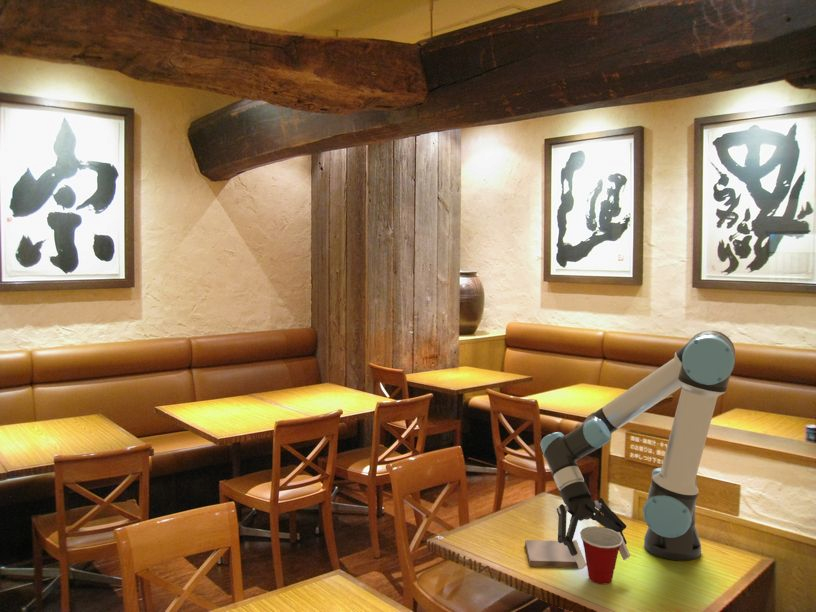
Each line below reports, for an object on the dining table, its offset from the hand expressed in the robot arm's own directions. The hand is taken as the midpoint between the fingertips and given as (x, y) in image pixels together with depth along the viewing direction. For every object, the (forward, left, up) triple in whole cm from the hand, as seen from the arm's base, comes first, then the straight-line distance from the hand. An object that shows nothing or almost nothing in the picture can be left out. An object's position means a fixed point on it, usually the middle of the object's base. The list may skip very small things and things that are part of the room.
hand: (605, 562), depth 173 cm
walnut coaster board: (+12, -15, -5) cm, 20 cm away
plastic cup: (+1, -2, -6) cm, 6 cm away
